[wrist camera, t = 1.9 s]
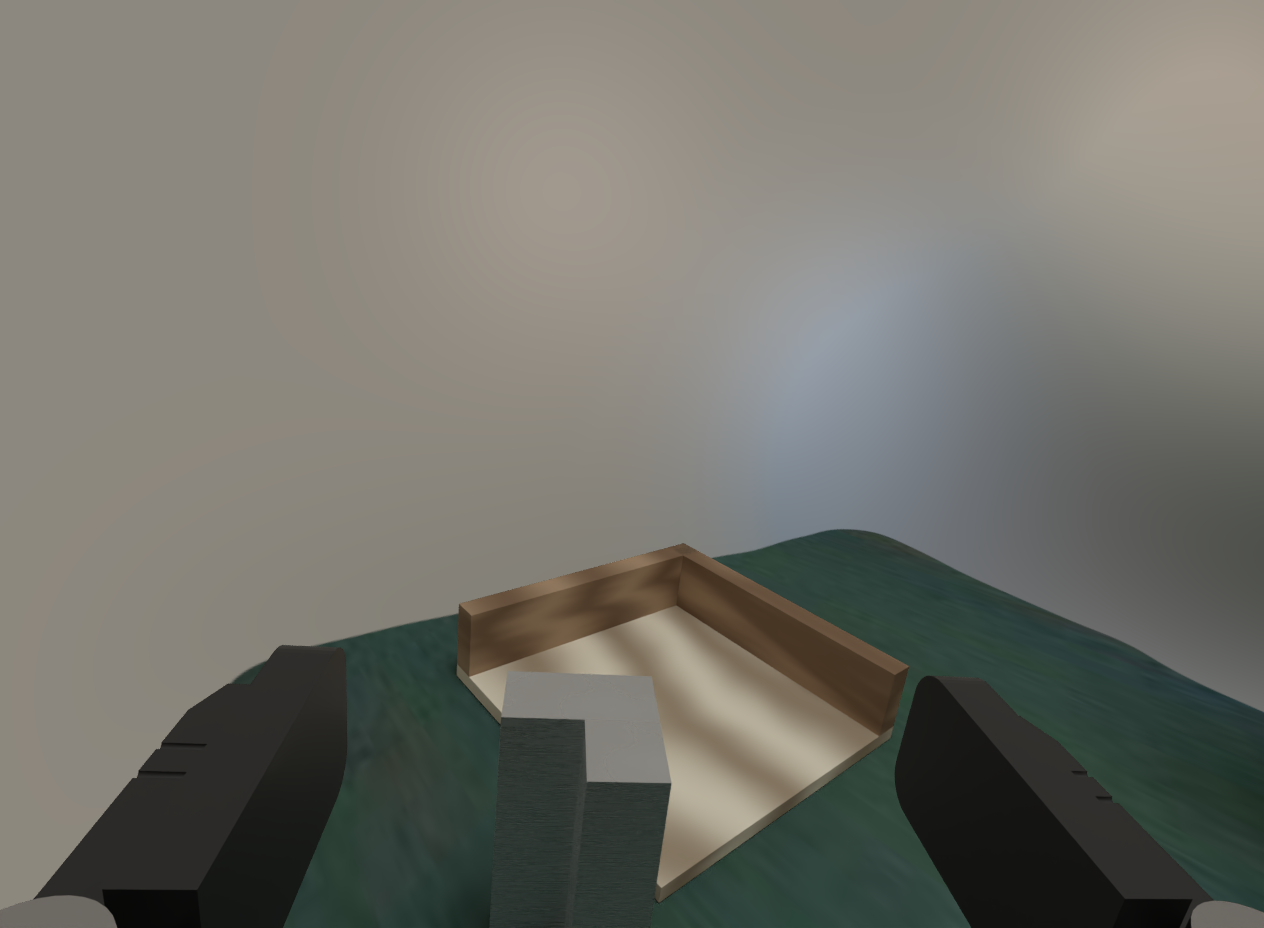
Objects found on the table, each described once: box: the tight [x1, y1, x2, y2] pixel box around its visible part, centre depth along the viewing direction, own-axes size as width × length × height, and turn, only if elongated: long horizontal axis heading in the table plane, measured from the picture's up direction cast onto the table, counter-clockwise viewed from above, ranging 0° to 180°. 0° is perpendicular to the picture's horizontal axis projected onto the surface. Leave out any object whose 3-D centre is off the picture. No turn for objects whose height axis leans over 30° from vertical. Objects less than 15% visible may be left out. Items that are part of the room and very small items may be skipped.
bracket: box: [489, 671, 672, 928], centre depth 23 cm, size 5×5×11 cm
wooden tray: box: [457, 544, 909, 903], centre depth 39 cm, size 18×18×5 cm
